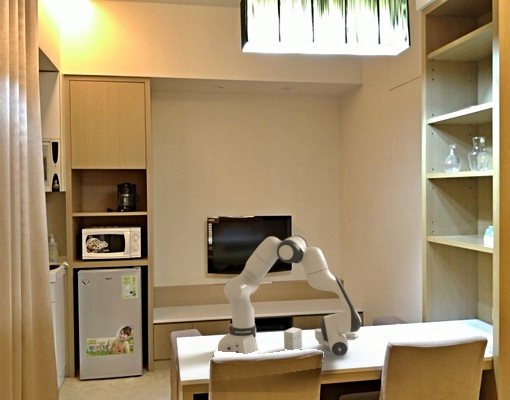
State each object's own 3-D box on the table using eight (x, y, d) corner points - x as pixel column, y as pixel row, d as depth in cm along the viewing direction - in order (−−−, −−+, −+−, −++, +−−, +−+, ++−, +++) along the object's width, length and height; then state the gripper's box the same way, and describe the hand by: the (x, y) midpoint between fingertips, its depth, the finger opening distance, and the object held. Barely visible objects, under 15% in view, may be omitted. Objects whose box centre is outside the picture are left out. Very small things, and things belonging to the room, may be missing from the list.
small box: (293, 347, 235) (292, 327, 235) (302, 349, 231) (301, 328, 231) (284, 352, 229) (283, 331, 229) (293, 354, 225) (292, 333, 225)
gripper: (358, 331, 219) (355, 322, 233) (315, 331, 221) (314, 323, 235) (359, 344, 219) (355, 335, 233) (315, 344, 221) (314, 335, 235)
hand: (334, 329), depth 234 cm, fingers open, 8 cm apart
